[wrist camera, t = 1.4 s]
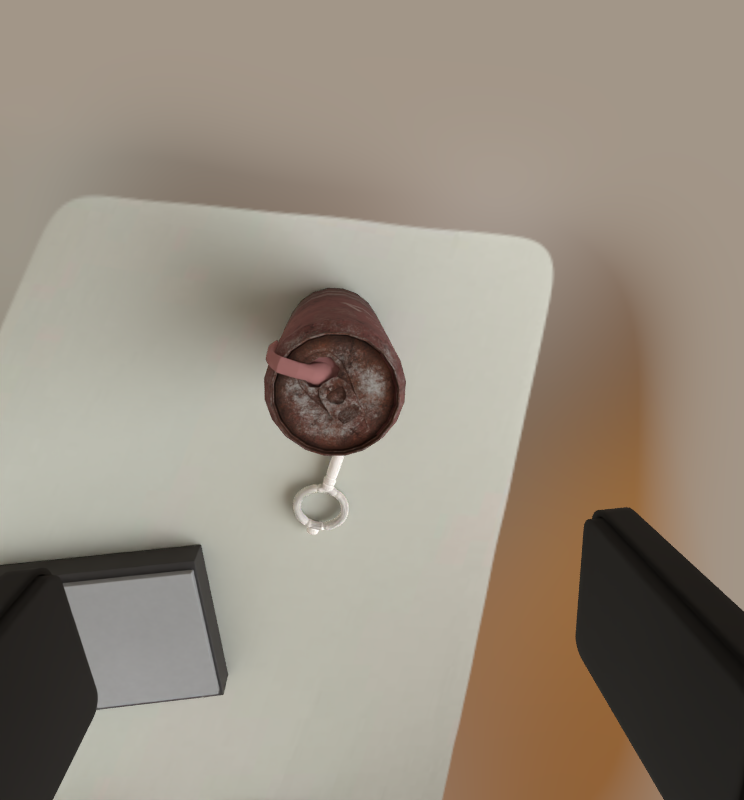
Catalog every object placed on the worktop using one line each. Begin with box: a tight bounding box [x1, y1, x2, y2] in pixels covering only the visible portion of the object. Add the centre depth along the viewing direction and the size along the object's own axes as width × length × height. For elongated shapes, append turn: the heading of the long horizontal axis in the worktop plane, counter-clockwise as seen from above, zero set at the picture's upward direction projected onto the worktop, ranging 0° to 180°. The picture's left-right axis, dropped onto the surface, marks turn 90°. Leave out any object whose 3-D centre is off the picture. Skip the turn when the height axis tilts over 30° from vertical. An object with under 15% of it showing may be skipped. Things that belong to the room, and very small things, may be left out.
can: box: [264, 288, 406, 456], centre depth 27 cm, size 6×6×14 cm
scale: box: [0, 545, 228, 710], centre depth 39 cm, size 15×13×2 cm
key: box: [293, 456, 349, 535], centre depth 36 cm, size 12×1×4 cm
